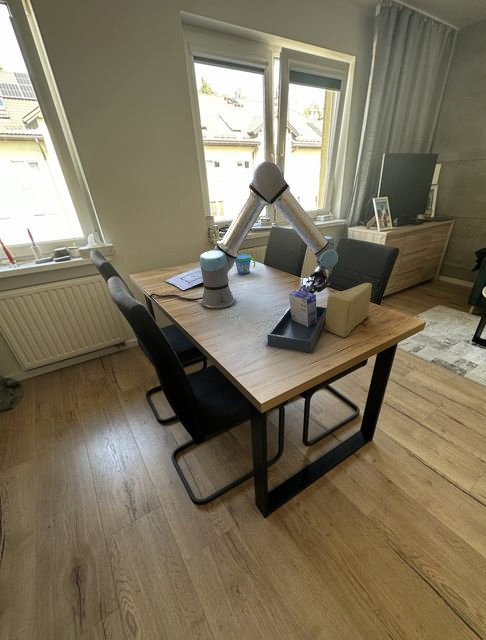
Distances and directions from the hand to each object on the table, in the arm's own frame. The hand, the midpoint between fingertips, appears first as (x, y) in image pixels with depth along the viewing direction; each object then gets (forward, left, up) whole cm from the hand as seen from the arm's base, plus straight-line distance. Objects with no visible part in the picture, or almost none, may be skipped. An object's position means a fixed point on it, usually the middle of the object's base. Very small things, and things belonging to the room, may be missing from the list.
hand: (307, 294), depth 110 cm
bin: (0, -9, -12) cm, 15 cm away
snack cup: (-55, +56, -12) cm, 79 cm away
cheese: (+18, +2, -12) cm, 21 cm away
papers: (-76, +34, -12) cm, 84 cm away
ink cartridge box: (0, -2, -11) cm, 11 cm away
